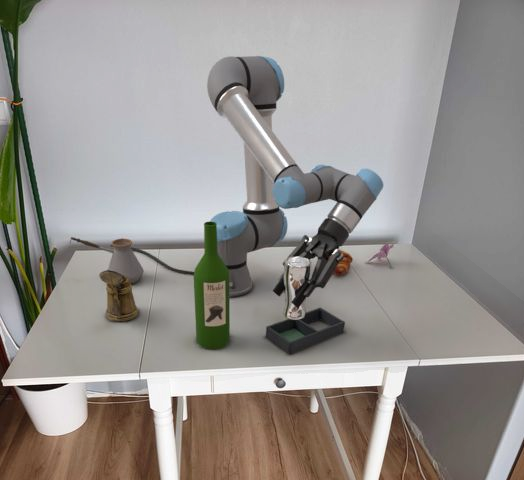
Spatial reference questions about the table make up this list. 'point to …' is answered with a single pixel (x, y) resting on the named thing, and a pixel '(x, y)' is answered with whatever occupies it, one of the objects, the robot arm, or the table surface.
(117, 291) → the wooden mug
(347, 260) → the croissant
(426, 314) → the table surface
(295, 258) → the beer glass
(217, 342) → the wine bottle
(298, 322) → the rectangular tray
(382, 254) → the lily
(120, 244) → the coffee pot
